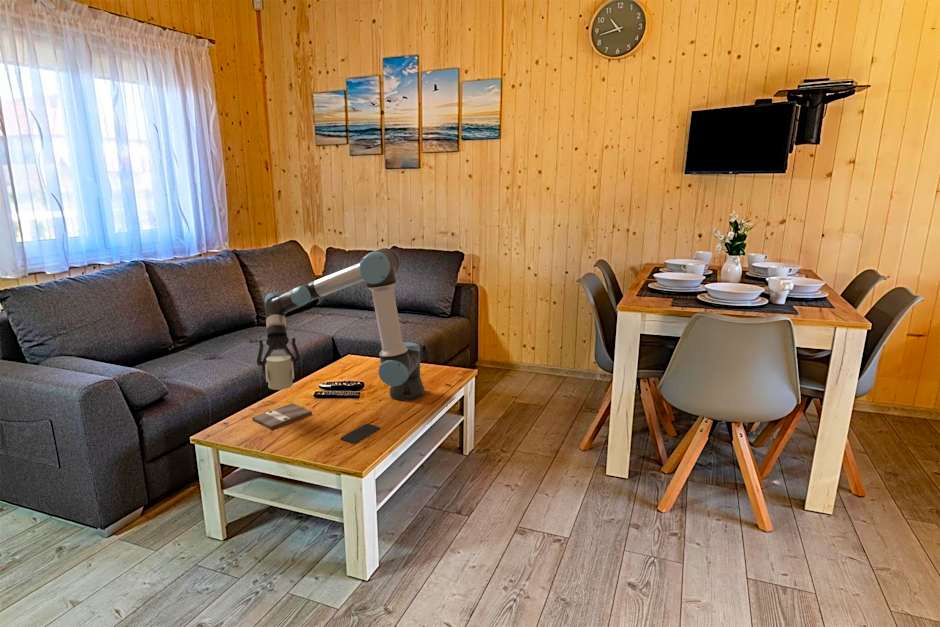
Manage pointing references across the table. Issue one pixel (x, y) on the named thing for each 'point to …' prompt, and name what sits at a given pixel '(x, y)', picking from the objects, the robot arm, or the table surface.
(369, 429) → the phone
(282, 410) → the grey flat block
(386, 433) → the table surface
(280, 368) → the can
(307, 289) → the robot arm
